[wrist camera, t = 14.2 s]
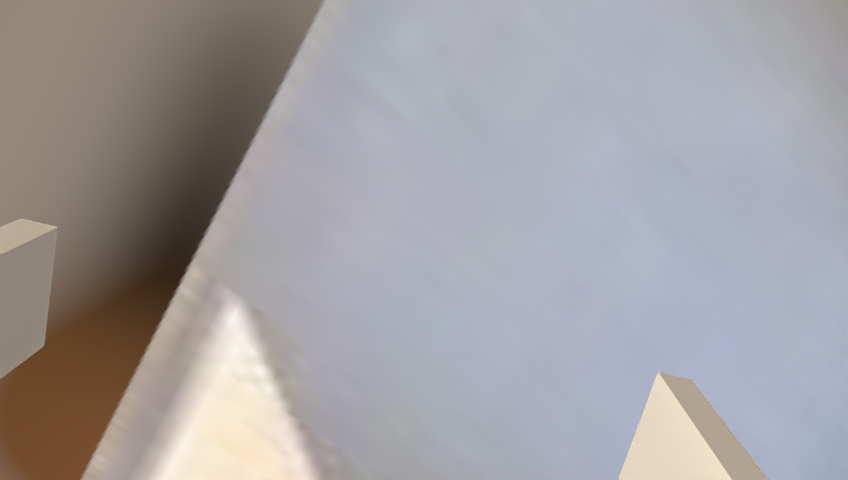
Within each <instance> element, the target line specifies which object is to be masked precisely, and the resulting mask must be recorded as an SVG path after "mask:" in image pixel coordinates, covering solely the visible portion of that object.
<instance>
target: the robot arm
mask: <svg viewBox="0 0 848 480" xmlns="http://www.w3.org/2000/svg"><path fill="white" fill-rule="evenodd" d="M57 231H58V227H55V226H51V225H46V224H42V223H38V222H34V221H30V220H26V219H22V218H21V219H19V220H16V221H14V222H11V223H9V224H7V225H4V226H2V227H0V379H1V378H2V377H4V376H5V375H6V374H8V373H9V372H10V371H11V370H13V369H14V368H15V367H17V366H18V365H19V364H21V363H22V362H23V361H25V360H26V359H27V358H29V357H30V356H31V355H33V354H34V353H35V352H36V351H38V350H39V349H40V348H42V347H43V346H44V342H45V334H46V325H47V316H48V307H49V299H50V290H51V282H52V273H53V265H54V256H55V247H56V239H57ZM618 480H768V479H767V477H766V476H765V475H764V473H763V472H762V471H761V470H760V468H759V467H758V466H757V464H756V463H755V462H754V460H753V459H752V458H751V457H750V455H749V454H748V453H747V451H746V450H745V449H744V447H743V446H742V445H741V444H740V442H739V441H738V440H737V438H736V437H735V436H734V434H733V433H732V432H731V431H730V429H729V428H728V427H727V425H726V424H725V423H724V421H723V420H722V419H721V417H720V416H719V415H718V414H717V412H716V411H715V410H714V408H713V407H712V406H711V404H710V403H709V402H708V401H707V399H706V398H705V397H704V395H703V394H702V393H701V391H700V390H699V389H698V388H697V386H696V385H695V384H694V382H693V381H692V380H690V379H686V378H681V377H677V376H673V375H669V374H665V373H661V372H658V374H657V376H656V379H655V382H654V385H653V387H652V390H651V393H650V395H649V398H648V401H647V403H646V406H645V409H644V412H643V414H642V417H641V420H640V422H639V425H638V428H637V431H636V433H635V436H634V439H633V441H632V444H631V447H630V449H629V452H628V455H627V458H626V460H625V463H624V466H623V468H622V471H621V474H620V476H619V479H618Z"/></svg>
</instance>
